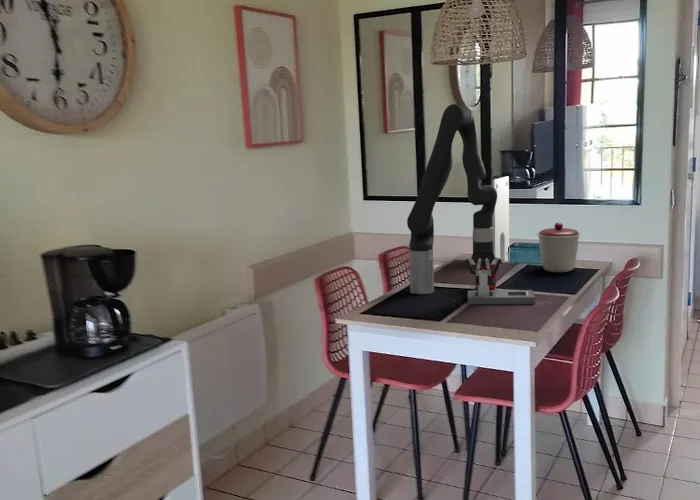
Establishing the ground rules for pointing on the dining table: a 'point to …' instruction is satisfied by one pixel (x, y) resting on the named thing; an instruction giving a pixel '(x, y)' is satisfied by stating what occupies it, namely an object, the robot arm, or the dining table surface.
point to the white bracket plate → (501, 219)
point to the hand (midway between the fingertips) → (483, 284)
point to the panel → (502, 297)
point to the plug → (483, 284)
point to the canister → (558, 248)
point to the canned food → (493, 277)
